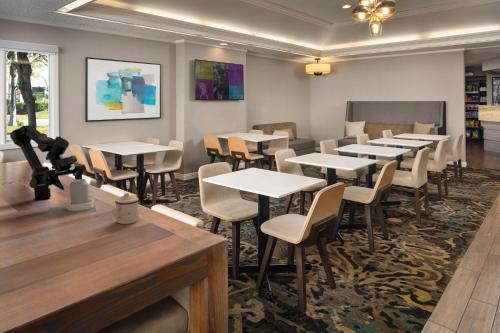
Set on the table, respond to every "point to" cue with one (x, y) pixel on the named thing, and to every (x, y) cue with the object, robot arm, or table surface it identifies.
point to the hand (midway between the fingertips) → (73, 187)
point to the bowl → (80, 206)
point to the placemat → (66, 211)
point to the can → (79, 191)
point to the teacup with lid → (126, 209)
